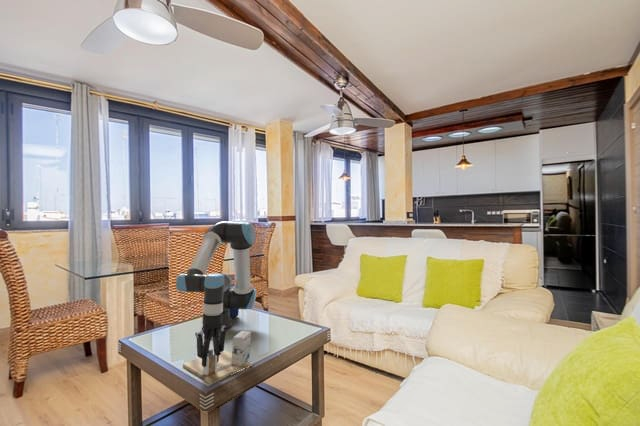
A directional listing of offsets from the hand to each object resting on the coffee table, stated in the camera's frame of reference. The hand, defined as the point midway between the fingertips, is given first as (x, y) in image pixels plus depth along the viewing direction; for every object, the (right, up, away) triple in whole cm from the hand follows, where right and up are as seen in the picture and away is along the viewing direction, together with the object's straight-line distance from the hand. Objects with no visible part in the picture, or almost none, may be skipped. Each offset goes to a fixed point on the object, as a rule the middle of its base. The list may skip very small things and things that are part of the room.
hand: (209, 372), depth 128 cm
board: (+1, -2, +9) cm, 9 cm away
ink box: (+10, -1, +12) cm, 15 cm away
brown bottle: (0, 0, 0) cm, 0 cm away
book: (-14, -3, +73) cm, 75 cm away
